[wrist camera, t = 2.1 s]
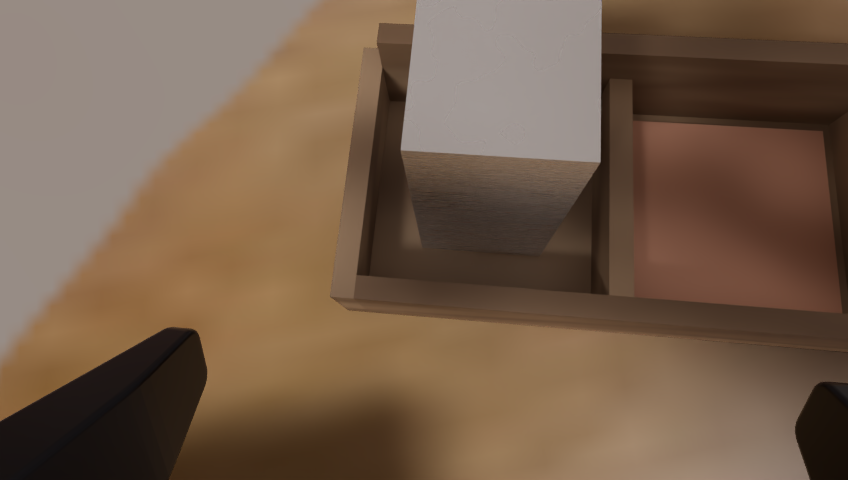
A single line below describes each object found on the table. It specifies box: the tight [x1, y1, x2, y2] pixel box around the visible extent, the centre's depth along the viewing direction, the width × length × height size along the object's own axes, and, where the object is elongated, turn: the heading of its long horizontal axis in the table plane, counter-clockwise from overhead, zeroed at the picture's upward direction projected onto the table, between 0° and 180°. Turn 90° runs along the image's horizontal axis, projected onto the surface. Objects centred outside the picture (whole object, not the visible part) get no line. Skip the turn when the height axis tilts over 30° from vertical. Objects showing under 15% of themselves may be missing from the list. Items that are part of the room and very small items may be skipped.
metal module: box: [401, 0, 602, 257], centre depth 17 cm, size 4×4×9 cm
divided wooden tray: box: [330, 23, 848, 352], centre depth 19 cm, size 10×19×5 cm, turn 85°
